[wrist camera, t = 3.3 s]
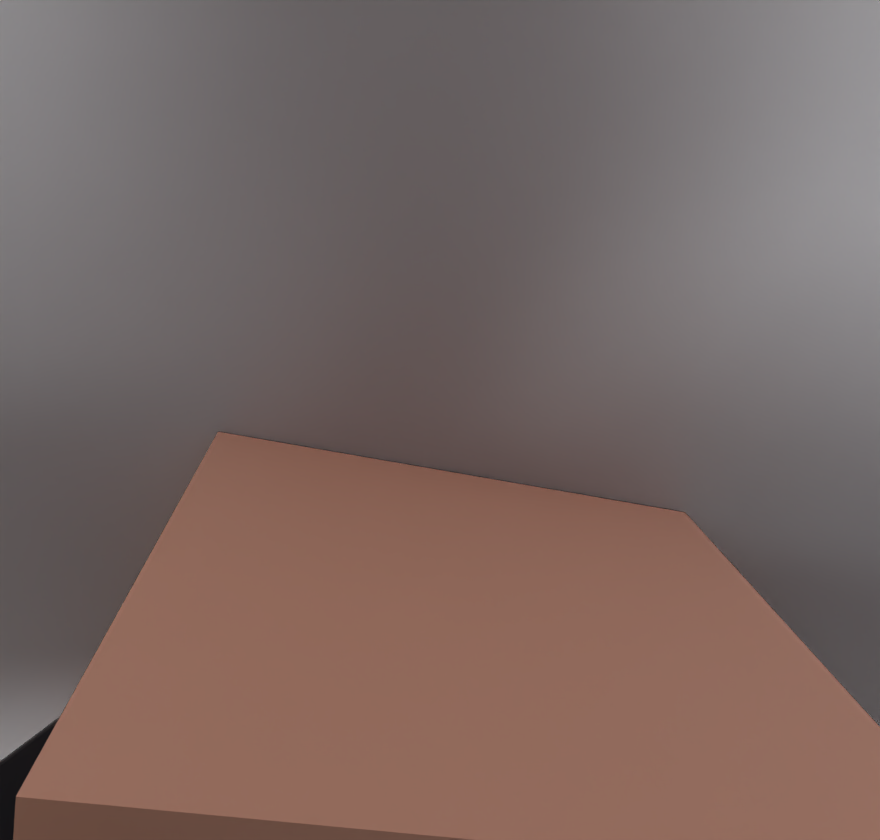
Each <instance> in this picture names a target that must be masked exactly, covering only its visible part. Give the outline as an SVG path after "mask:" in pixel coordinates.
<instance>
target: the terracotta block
mask: <svg viewBox="0 0 880 840" xmlns="http://www.w3.org/2000/svg"><path fill="white" fill-rule="evenodd" d="M13 840H880V727H879V726H878V724H877V723H876V722H875V721H874V720H873V719H872V718H871V717H870V716H869V715H868V713H867V712H866V711H865V710H864V709H863V708H862V707H861V706H860V705H859V704H858V702H857V701H856V700H855V699H854V698H853V697H852V696H851V695H850V694H849V692H848V691H847V690H846V689H845V688H844V687H843V686H842V685H841V684H840V683H839V681H838V680H837V679H836V678H835V677H834V676H833V675H832V674H831V673H830V672H829V670H828V669H827V668H826V667H825V666H824V665H823V664H822V663H821V662H820V661H819V659H818V658H817V657H816V656H815V655H814V654H813V653H812V652H811V651H810V650H809V648H808V647H807V646H806V645H805V644H804V643H803V642H802V641H801V640H800V639H799V637H798V636H797V635H796V634H795V633H794V632H793V631H792V630H791V629H790V627H789V626H788V625H787V624H786V623H785V622H784V621H783V620H782V619H781V618H780V616H779V615H778V614H777V613H776V612H775V611H774V610H773V609H772V608H771V607H770V605H769V604H768V603H767V602H766V601H765V600H764V599H763V598H762V597H761V596H760V594H759V593H758V592H757V591H756V590H755V589H754V588H753V587H752V586H751V585H750V583H749V582H748V581H747V580H746V579H745V578H744V577H743V576H742V575H741V574H740V572H739V571H738V570H737V569H736V568H735V567H734V566H733V565H732V564H731V562H730V561H729V560H728V559H727V558H726V557H725V556H724V555H723V554H722V553H721V551H720V550H719V549H718V548H717V547H716V546H715V545H714V544H713V543H712V542H711V540H710V539H709V538H708V537H707V536H706V535H705V534H704V533H703V532H702V531H701V529H700V528H699V527H698V526H697V525H696V524H695V523H694V522H693V521H692V520H691V518H690V517H689V516H688V515H687V514H686V513H685V512H680V511H674V510H668V509H662V508H657V507H651V506H645V505H639V504H634V503H628V502H622V501H616V500H610V499H605V498H599V497H593V496H587V495H581V494H576V493H570V492H564V491H558V490H553V489H547V488H541V487H535V486H529V485H524V484H518V483H512V482H506V481H500V480H495V479H489V478H483V477H477V476H471V475H466V474H460V473H454V472H448V471H443V470H437V469H431V468H425V467H419V466H414V465H408V464H402V463H396V462H390V461H385V460H379V459H373V458H367V457H362V456H356V455H350V454H344V453H338V452H333V451H327V450H321V449H315V448H309V447H304V446H298V445H292V444H286V443H280V442H275V441H269V440H263V439H257V438H252V437H246V436H240V435H234V434H228V433H223V432H217V434H216V436H215V438H214V440H213V441H212V443H211V445H210V447H209V449H208V450H207V452H206V454H205V456H204V458H203V459H202V461H201V463H200V465H199V467H198V468H197V470H196V472H195V474H194V476H193V477H192V479H191V481H190V483H189V485H188V487H187V488H186V490H185V492H184V494H183V496H182V497H181V499H180V501H179V503H178V505H177V506H176V508H175V510H174V512H173V514H172V515H171V517H170V519H169V521H168V523H167V524H166V526H165V528H164V530H163V532H162V533H161V535H160V537H159V539H158V541H157V543H156V544H155V546H154V548H153V550H152V552H151V553H150V555H149V557H148V559H147V561H146V562H145V564H144V566H143V568H142V570H141V571H140V573H139V575H138V577H137V579H136V580H135V582H134V584H133V586H132V588H131V589H130V591H129V593H128V595H127V597H126V599H125V600H124V602H123V604H122V606H121V608H120V609H119V611H118V613H117V615H116V617H115V618H114V620H113V622H112V624H111V626H110V627H109V629H108V631H107V633H106V635H105V636H104V638H103V640H102V642H101V644H100V645H99V647H98V649H97V651H96V653H95V654H94V656H93V658H92V660H91V662H90V664H89V665H88V667H87V669H86V671H85V673H84V674H83V676H82V678H81V680H80V682H79V683H78V685H77V687H76V689H75V691H74V692H73V694H72V696H71V698H70V700H69V701H68V703H67V705H66V707H65V709H64V710H63V712H62V714H61V716H60V718H59V720H58V721H57V723H56V725H55V727H54V729H53V730H52V732H51V734H50V736H49V738H48V739H47V741H46V743H45V745H44V747H43V748H42V750H41V752H40V754H39V756H38V757H37V759H36V761H35V763H34V765H33V766H32V768H31V770H30V772H29V774H28V776H27V777H26V779H25V781H24V783H23V785H22V786H21V788H20V790H19V792H18V794H17V795H16V802H15V818H14V834H13Z"/></svg>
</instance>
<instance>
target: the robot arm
mask: <svg viewBox="0 0 880 840" xmlns="http://www.w3.org/2000/svg"><path fill="white" fill-rule="evenodd" d="M59 718H60V717H59ZM59 718H57V719H56V720H55V721H53V722H52V723H51V724H49V725H48V726H47V727H45V728H44V729H43V730H41V731H40V732H39V733H37V734H36V735H35V736H33V737H32V738H31V739H29V740H28V741H27V742H25V743H24V744H23V745H21V746H20V747H19V748H17V749H16V750H15V751H13V752H12V753H11V754H9V755H8V756H7V757H5V758H4V759H3V760H1V761H0V840H13V834H14V818H15V802H16V795H17V794H18V792H19V790H20V788H21V786H22V785H23V783H24V781H25V779H26V777H27V776H28V774H29V772H30V770H31V768H32V766H33V765H34V763H35V761H36V759H37V757H38V756H39V754H40V752H41V750H42V748H43V747H44V745H45V743H46V741H47V739H48V738H49V736H50V734H51V732H52V730H53V729H54V727H55V725H56V723H57V721H58V720H59Z"/></svg>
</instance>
